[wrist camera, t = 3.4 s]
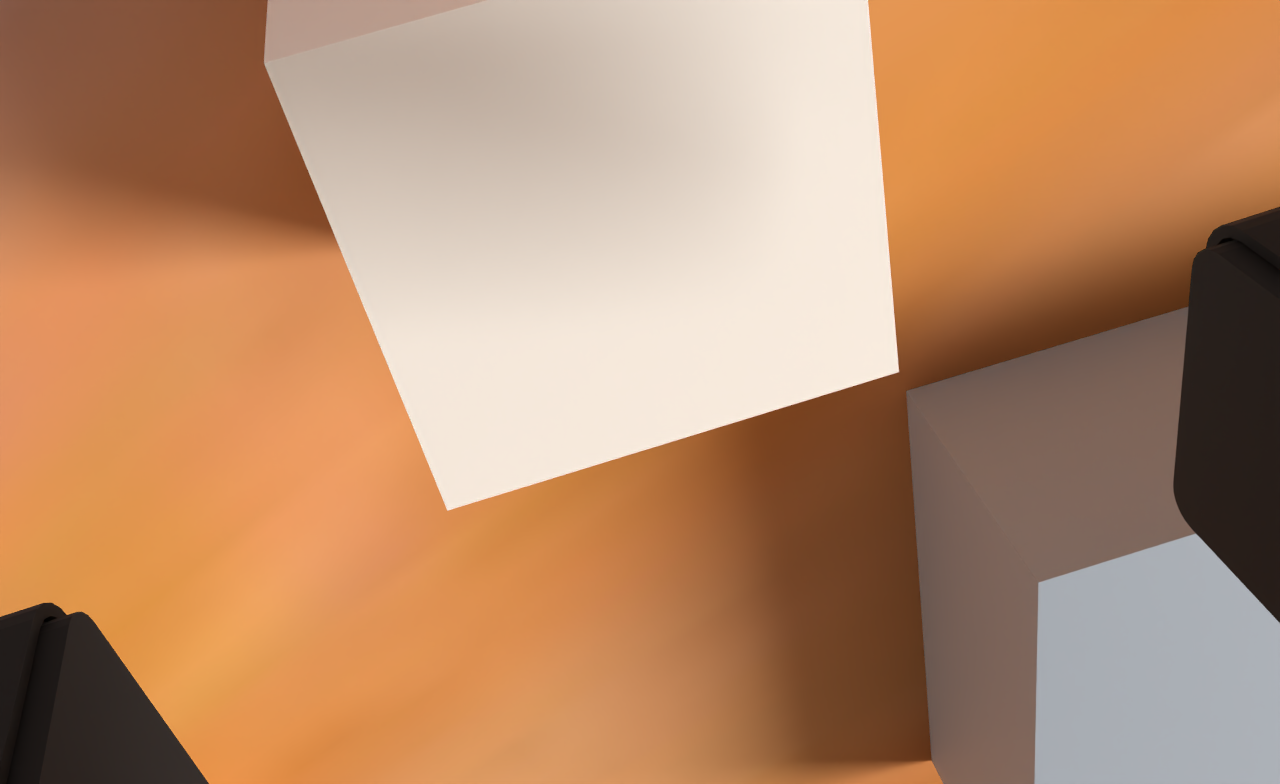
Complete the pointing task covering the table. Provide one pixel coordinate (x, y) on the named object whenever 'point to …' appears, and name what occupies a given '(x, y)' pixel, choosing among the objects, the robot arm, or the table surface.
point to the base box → (1081, 579)
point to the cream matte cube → (595, 214)
